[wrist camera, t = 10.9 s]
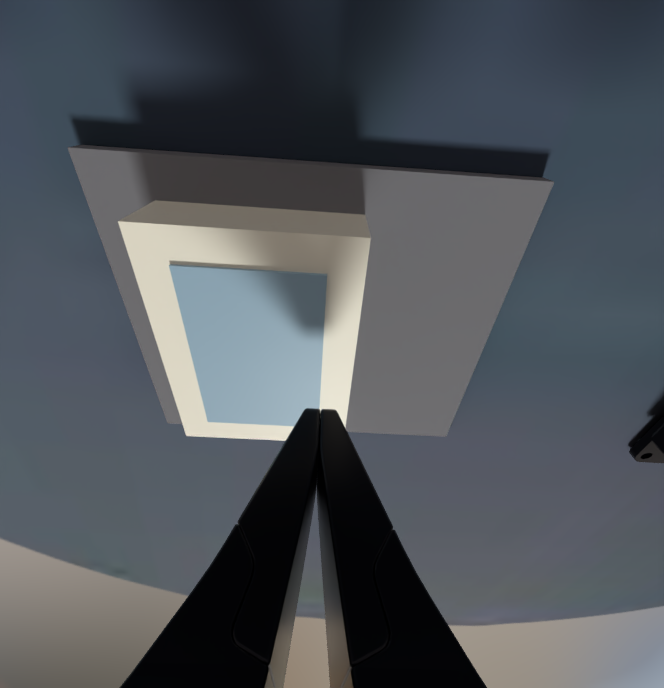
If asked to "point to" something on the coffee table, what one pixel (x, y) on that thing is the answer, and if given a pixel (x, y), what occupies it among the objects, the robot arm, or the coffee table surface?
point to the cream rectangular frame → (251, 310)
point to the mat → (382, 268)
